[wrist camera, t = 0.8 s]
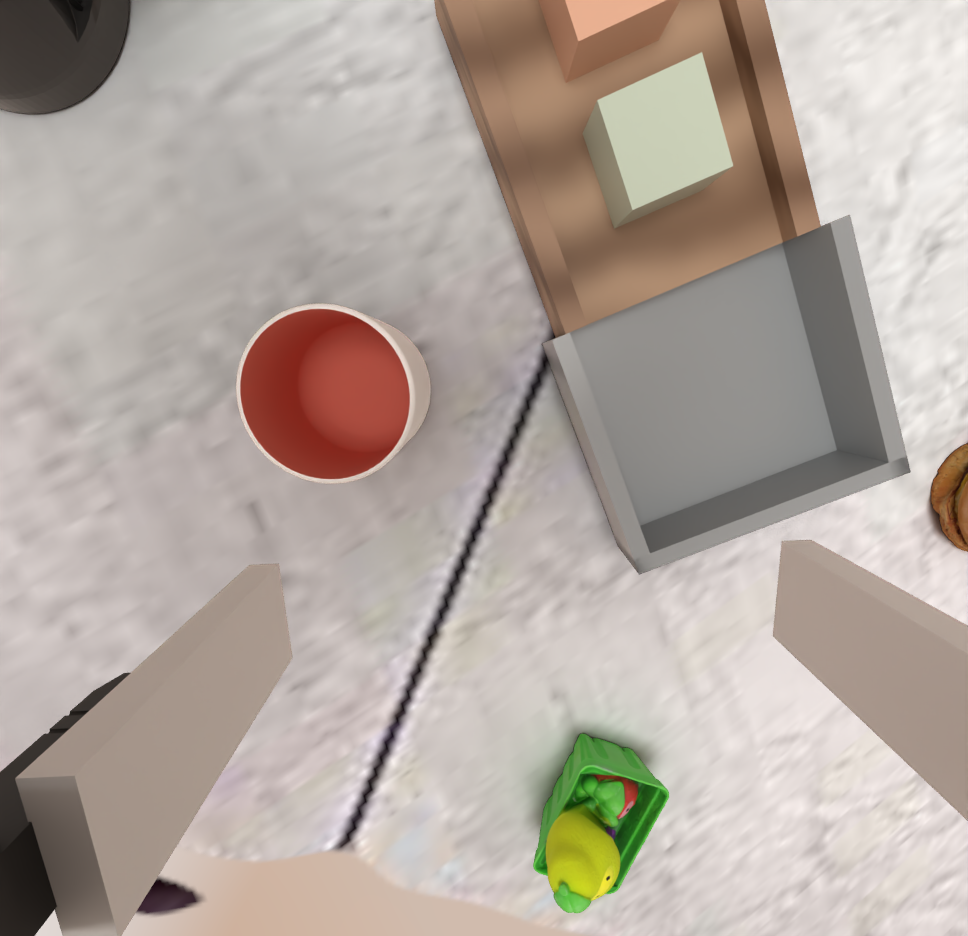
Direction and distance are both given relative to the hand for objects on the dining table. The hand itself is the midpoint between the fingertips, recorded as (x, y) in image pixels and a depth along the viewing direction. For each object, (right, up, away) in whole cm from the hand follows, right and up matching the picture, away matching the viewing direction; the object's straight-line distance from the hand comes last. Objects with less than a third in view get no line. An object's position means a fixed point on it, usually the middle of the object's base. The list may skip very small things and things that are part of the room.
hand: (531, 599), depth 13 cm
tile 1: (+9, +23, +18) cm, 31 cm away
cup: (-10, +10, +24) cm, 28 cm away
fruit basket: (+8, -25, +32) cm, 41 cm away
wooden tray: (+8, +26, +21) cm, 34 cm away
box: (+15, +8, +24) cm, 30 cm away
